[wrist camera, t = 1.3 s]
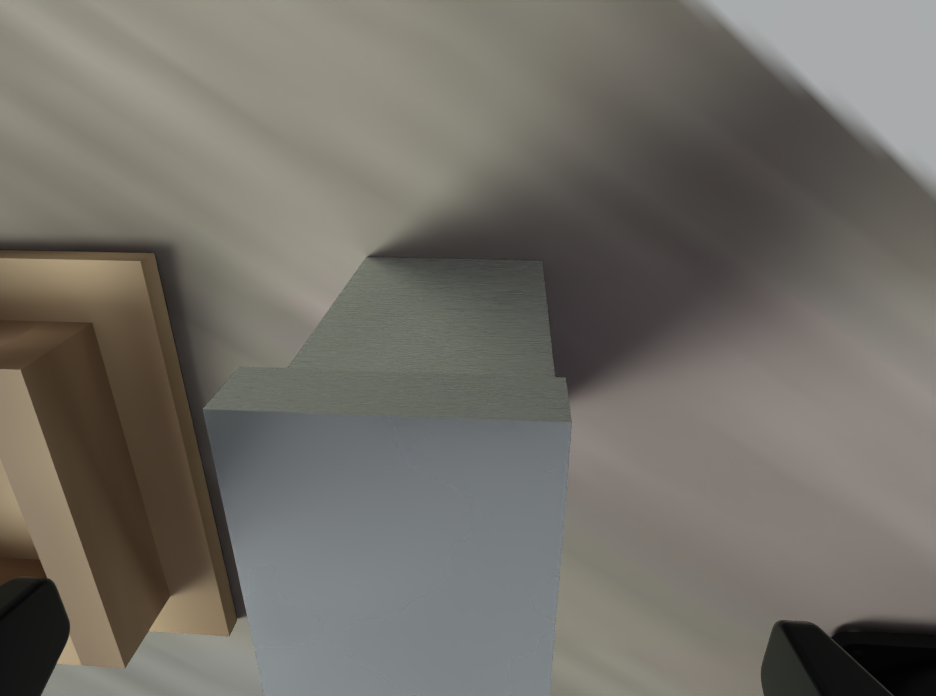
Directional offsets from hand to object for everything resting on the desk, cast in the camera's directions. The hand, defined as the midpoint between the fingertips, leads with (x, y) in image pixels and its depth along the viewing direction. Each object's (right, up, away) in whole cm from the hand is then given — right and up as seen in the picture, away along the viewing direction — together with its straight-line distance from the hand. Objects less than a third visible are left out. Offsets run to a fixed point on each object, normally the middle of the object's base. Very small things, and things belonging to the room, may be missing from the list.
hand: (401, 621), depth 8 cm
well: (-12, 0, +10) cm, 16 cm away
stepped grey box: (+1, +4, +7) cm, 8 cm away
